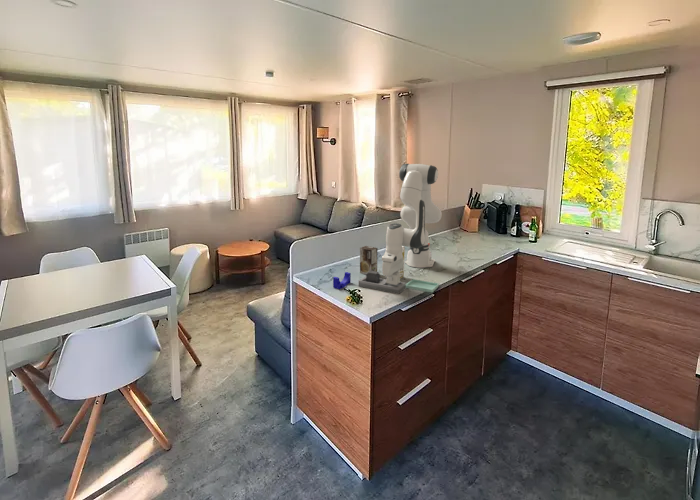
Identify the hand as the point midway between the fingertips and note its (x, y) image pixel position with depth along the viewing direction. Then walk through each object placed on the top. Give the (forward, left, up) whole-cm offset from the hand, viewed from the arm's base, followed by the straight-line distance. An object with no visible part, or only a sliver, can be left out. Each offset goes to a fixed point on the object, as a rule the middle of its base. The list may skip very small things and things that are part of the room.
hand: (393, 279), depth 207 cm
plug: (0, 0, -2) cm, 2 cm away
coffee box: (-18, -24, -6) cm, 31 cm away
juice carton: (-19, -6, -6) cm, 21 cm away
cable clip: (+8, -27, -6) cm, 28 cm away
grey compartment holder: (0, -6, -6) cm, 9 cm away
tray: (-11, +13, -6) cm, 18 cm away
